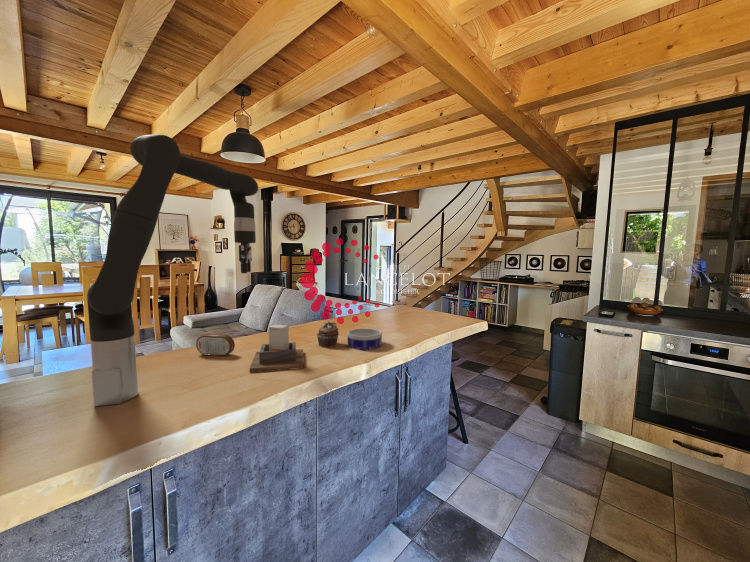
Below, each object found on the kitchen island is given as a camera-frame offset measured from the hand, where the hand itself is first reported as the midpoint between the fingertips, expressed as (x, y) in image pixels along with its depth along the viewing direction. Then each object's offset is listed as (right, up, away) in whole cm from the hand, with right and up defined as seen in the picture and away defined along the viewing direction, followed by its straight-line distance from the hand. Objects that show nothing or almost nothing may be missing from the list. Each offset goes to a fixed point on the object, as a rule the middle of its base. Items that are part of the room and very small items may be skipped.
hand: (246, 272), depth 119 cm
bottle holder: (+14, -34, -4) cm, 37 cm away
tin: (-14, -33, +3) cm, 36 cm away
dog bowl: (+45, -32, +18) cm, 59 cm away
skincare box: (+14, -32, -4) cm, 35 cm away
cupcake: (+29, -32, +18) cm, 47 cm away
